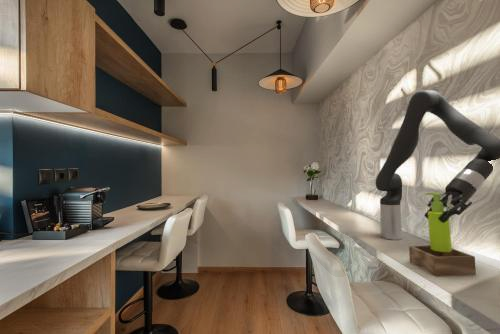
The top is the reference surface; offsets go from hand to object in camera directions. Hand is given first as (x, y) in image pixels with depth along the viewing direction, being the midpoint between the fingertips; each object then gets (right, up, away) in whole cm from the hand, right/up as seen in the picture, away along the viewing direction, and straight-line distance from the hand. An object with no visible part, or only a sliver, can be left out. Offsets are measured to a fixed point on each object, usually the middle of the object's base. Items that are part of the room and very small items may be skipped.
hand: (433, 219), depth 86 cm
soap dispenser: (+2, -11, 0) cm, 11 cm away
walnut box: (+2, -17, 0) cm, 17 cm away
